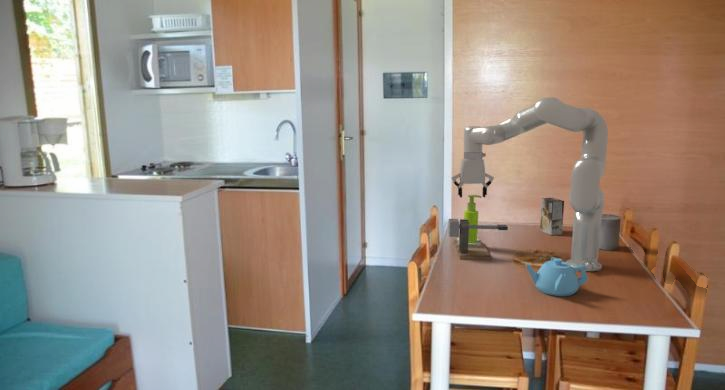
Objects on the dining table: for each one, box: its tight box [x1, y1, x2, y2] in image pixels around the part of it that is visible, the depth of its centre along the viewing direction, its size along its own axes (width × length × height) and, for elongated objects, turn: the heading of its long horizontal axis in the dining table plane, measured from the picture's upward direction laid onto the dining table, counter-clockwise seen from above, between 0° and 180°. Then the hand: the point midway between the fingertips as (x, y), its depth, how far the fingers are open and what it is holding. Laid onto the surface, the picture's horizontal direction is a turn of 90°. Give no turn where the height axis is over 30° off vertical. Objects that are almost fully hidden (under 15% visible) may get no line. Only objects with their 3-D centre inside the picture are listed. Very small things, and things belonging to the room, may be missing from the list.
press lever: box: [447, 218, 509, 238], centre depth 215 cm, size 6×23×6 cm, turn 87°
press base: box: [452, 218, 491, 261], centre depth 223 cm, size 24×12×14 cm, turn 177°
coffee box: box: [539, 197, 565, 236], centre depth 253 cm, size 9×6×16 cm
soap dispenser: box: [463, 194, 482, 243], centre depth 228 cm, size 6×7×20 cm
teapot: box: [525, 256, 589, 297], centre depth 179 cm, size 15×15×11 cm
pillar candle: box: [599, 213, 621, 252], centre depth 228 cm, size 10×10×15 cm
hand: (472, 196), depth 226 cm, fingers open, 9 cm apart
